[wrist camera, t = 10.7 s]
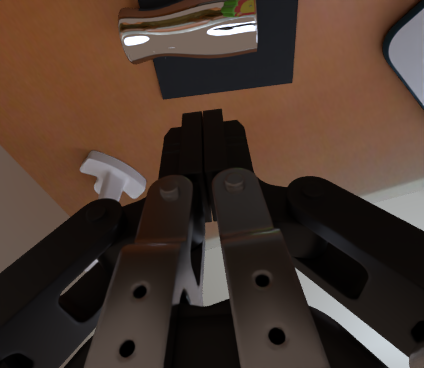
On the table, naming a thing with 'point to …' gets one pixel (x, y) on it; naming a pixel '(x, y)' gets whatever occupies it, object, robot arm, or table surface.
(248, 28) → the beer glass
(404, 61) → the external hard drive
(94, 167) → the joystick
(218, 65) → the mat
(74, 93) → the table surface
